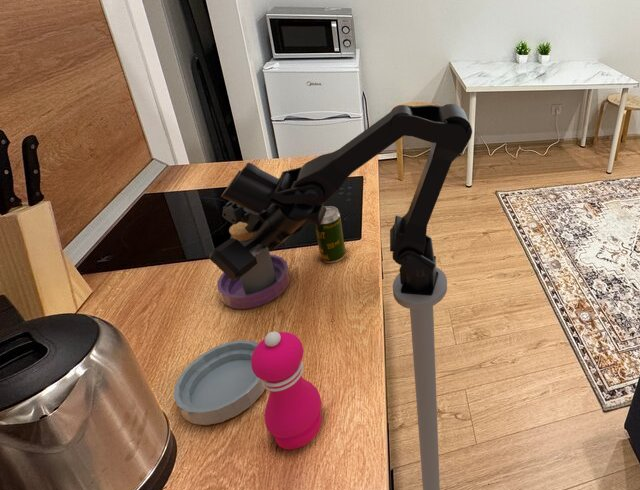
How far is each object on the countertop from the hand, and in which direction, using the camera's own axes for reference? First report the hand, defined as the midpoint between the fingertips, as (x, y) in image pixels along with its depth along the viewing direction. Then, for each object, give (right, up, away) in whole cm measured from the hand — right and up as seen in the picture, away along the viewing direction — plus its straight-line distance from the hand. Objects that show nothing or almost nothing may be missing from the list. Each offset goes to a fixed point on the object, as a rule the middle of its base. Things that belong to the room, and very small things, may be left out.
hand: (249, 251), depth 81 cm
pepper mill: (+20, -22, -19) cm, 35 cm away
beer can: (+10, -4, +14) cm, 18 cm away
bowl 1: (-1, -8, +4) cm, 9 cm away
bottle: (0, -8, +4) cm, 9 cm away
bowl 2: (+6, -19, -14) cm, 24 cm away
